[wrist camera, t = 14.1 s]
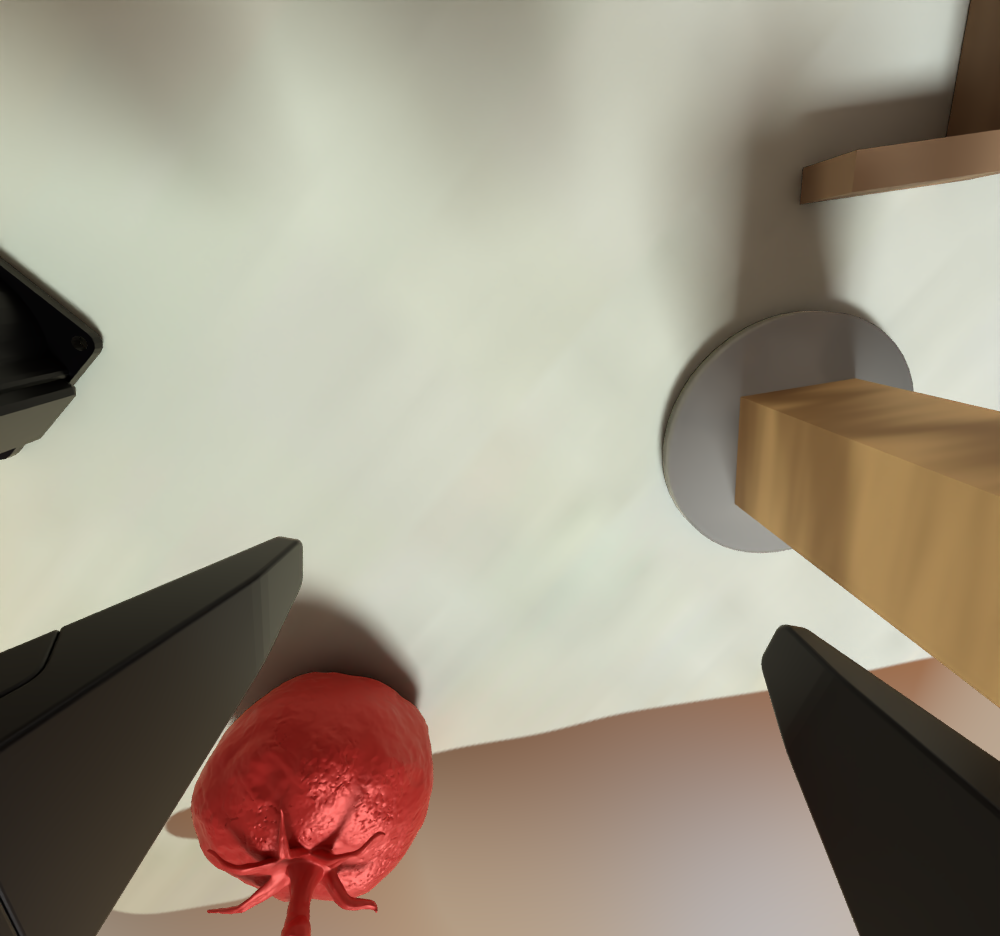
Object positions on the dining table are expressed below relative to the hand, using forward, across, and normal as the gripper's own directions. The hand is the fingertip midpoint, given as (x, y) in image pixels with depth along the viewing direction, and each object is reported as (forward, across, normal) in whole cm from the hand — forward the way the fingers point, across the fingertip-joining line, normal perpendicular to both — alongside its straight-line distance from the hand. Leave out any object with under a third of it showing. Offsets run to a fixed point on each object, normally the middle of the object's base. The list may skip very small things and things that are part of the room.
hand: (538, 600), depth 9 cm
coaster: (+14, -11, 0) cm, 18 cm away
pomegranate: (+10, +7, +18) cm, 22 cm away
